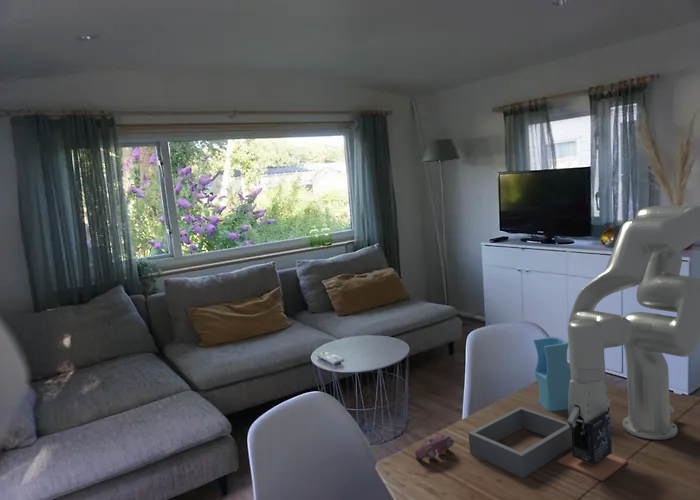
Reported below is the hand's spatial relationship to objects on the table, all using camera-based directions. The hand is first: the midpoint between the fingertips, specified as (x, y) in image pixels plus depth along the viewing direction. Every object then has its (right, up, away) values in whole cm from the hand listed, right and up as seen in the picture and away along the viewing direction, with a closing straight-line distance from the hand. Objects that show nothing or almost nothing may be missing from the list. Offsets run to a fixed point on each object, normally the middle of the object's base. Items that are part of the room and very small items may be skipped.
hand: (591, 441), depth 122 cm
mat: (0, -5, 0) cm, 5 cm away
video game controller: (-36, -8, +11) cm, 38 cm away
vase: (+4, -1, +33) cm, 33 cm away
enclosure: (-13, -6, +10) cm, 18 cm away
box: (0, -4, 0) cm, 4 cm away
